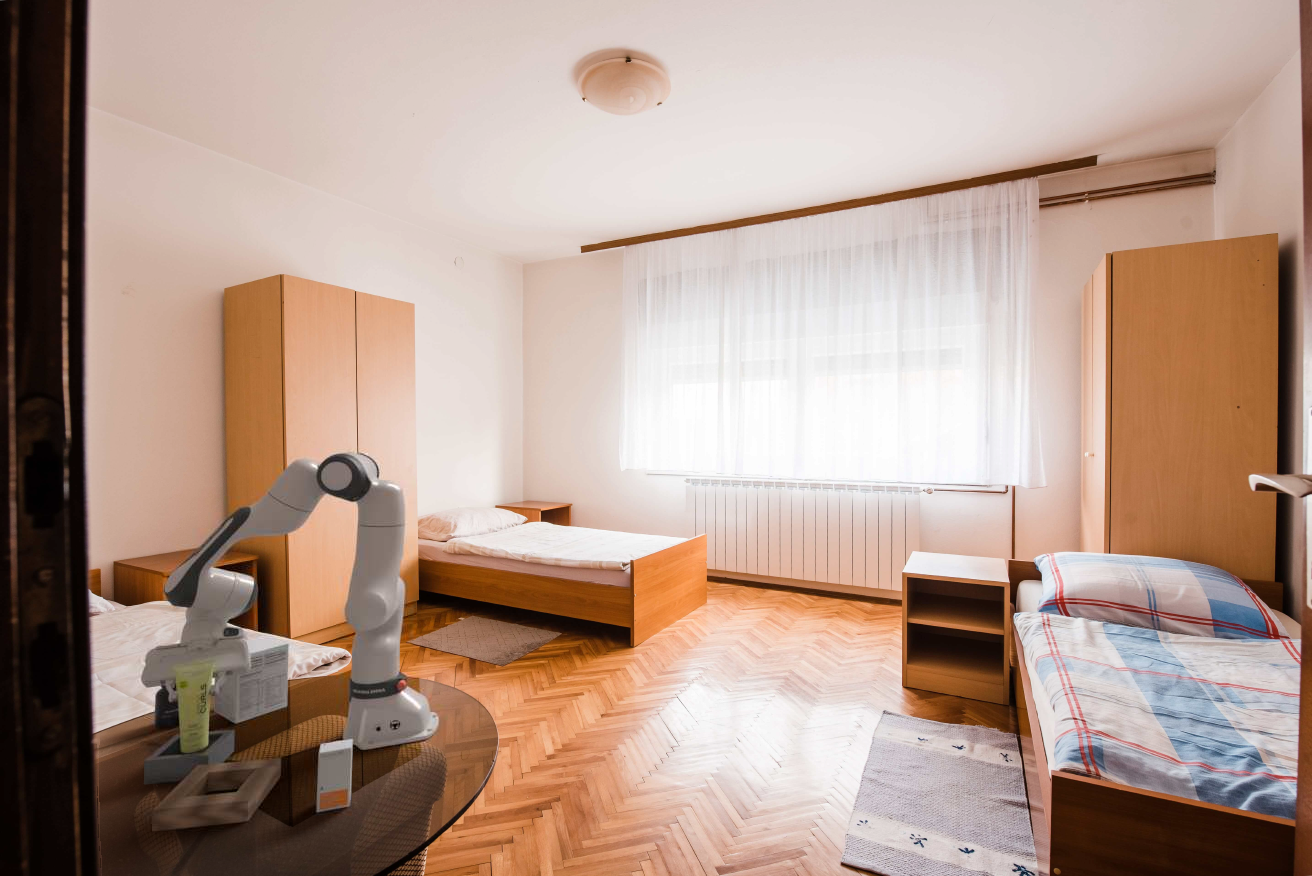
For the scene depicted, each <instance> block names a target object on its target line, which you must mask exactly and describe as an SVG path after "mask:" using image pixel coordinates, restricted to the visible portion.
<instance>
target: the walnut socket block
mask: <svg viewBox="0 0 1312 876" xmlns="http://www.w3.org/2000/svg"><path fill="white" fill-rule="evenodd" d="M281 769H282V758H281V757H279V758H267V759H266V758H265V759H256V760H255V759H254V760H246V761H245V760H244V761H232V762H231V761H229V762H223V763H219V764H207V765H198V766H197V767H196V768H195V769H194V770H193V771H192V772H191V773H190V774H189V775H188V776H187V777H186V778H185V779H184V780H183V781H180V782H179V783H178V784H177V785H176V786H175V787H174V789H172V791H170V792H169V793H168V794H167V795H166V796H165V797H164V798H163V799H162V800H161V801H160V802H159V803H158V804H157V805H156V806H155V807H153V809H152V824H151V827H152V830H151V832H159V831H160V832H161V831H168V830H169V831H170V830H177V829H178V830H179V829H187V828H197V827H206V826H216V825H225V824H235V823H243V822H248V821H249V820H250V819H251V818H252V817H253V815H254V813H255V812H256V811H257V809H258V808H259V806H260V805H261V804H262V803H263V801H264V800H265V798H266V797H267V796H268V794H269V793H270V791H271V790H272V789H273V788H274V787H275V785H276V784H277V782H278V781H279V779H280V778H281V774H282V770H281ZM228 790H237V791H236V792H235V791H233V792H224V793H214V794H207V793H208V792H218V791H228Z"/></svg>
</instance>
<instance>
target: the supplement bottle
mask: <svg viewBox="0 0 1312 876" xmlns="http://www.w3.org/2000/svg"><path fill="white" fill-rule="evenodd" d="M160 687H161V688H160V689H158V690H157V691H156V693H155V696H154V697H155V699H154V700H155V701H154V718H153V719H154V720H153V721H154V722H153V726H154V728H155V729H158V730H170V729H174V728H177V727H180V723H179V708H178V701H173V702H169V692H168V690H167V688H166V686H165V685H163V686H160ZM172 689H173V691H177V688H176V684H175V687H174V688H172Z"/></svg>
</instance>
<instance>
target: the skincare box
mask: <svg viewBox="0 0 1312 876" xmlns="http://www.w3.org/2000/svg"><path fill="white" fill-rule="evenodd" d="M319 745H320V746H319V750H318V758H317V759H318V762H317V783H316V784H317V786H316V788H317V789H316V813H321V812H326V811H330V810H331V811H332V810H336V809H342V808H348V807H350V804H351V799H352V797H351V796H352V771H353V746H354V745H353V739H349V740H344V739H342V740H336V741H335V740H334V741H332V742H325V743H320V744H319Z"/></svg>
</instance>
